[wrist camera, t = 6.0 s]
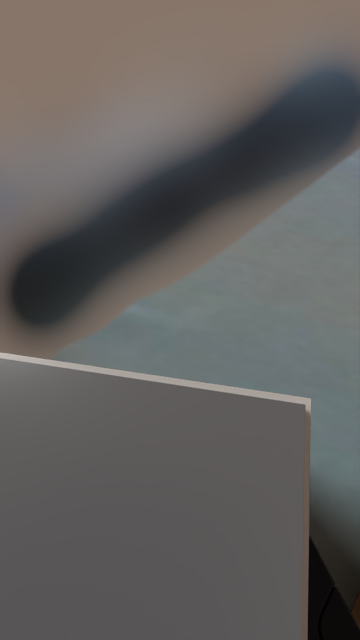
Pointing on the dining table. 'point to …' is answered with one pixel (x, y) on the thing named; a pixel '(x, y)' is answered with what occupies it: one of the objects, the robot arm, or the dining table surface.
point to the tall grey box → (150, 507)
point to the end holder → (356, 610)
